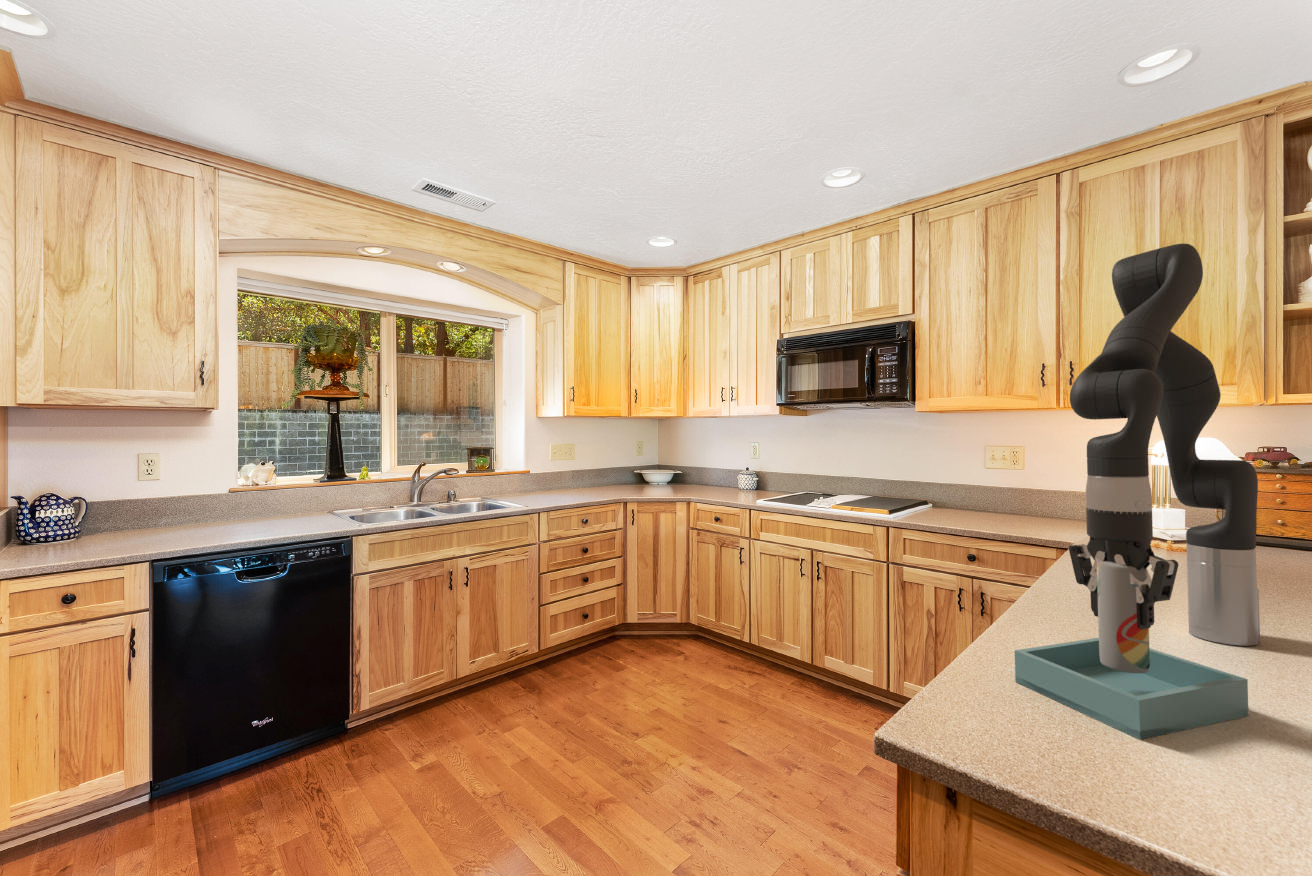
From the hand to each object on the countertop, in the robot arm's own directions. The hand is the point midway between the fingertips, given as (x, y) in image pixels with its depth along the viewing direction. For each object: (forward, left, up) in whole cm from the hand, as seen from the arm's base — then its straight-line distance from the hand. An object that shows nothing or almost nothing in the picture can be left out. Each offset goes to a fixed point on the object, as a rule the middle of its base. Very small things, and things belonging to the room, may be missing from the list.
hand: (1121, 621), depth 83 cm
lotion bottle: (0, 0, -7) cm, 7 cm away
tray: (0, 0, -11) cm, 11 cm away
